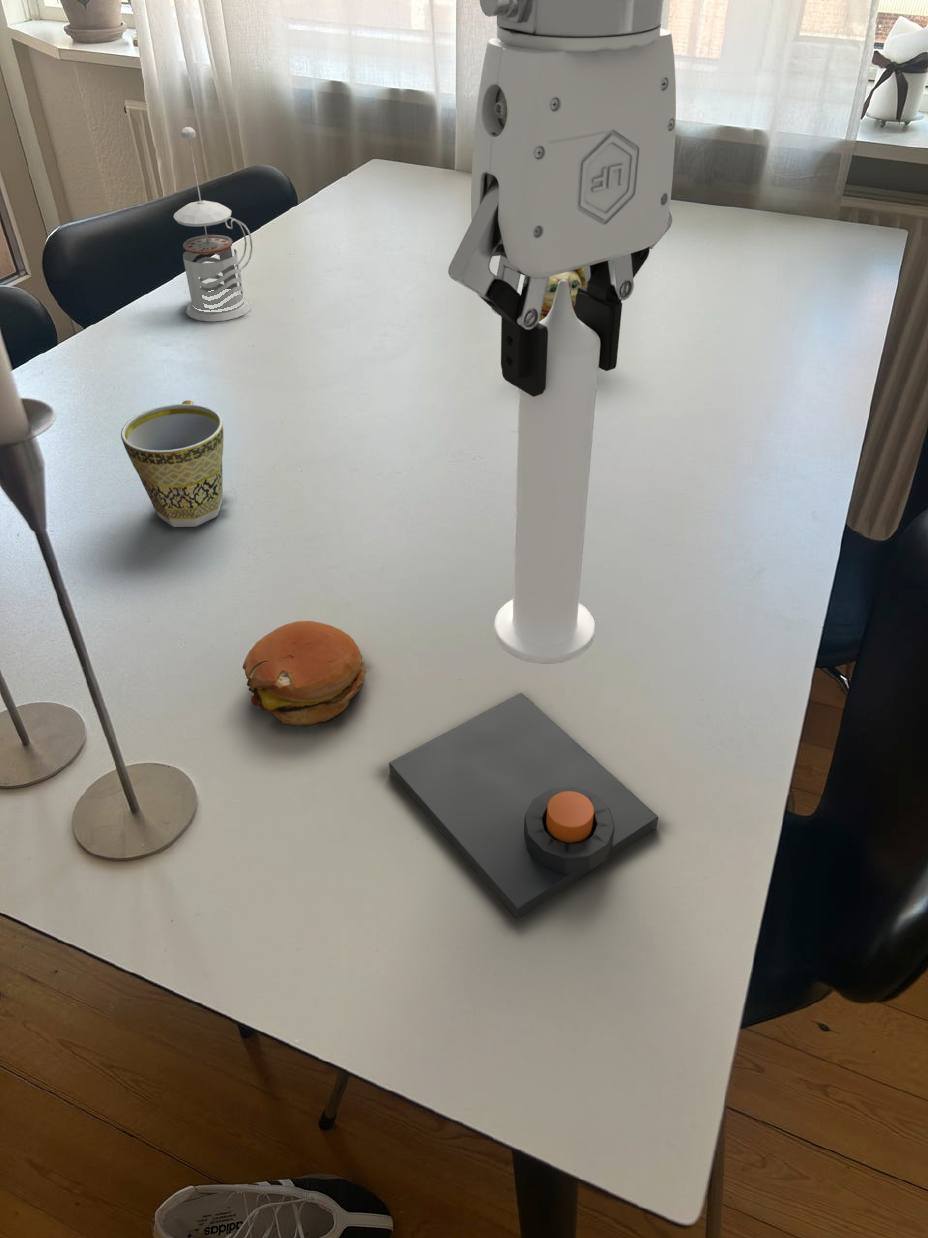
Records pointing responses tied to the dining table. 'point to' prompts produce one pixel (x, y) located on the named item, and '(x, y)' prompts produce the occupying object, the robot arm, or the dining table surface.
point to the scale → (519, 801)
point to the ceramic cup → (178, 460)
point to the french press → (220, 245)
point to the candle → (553, 497)
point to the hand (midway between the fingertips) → (559, 370)
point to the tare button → (569, 816)
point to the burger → (304, 672)
